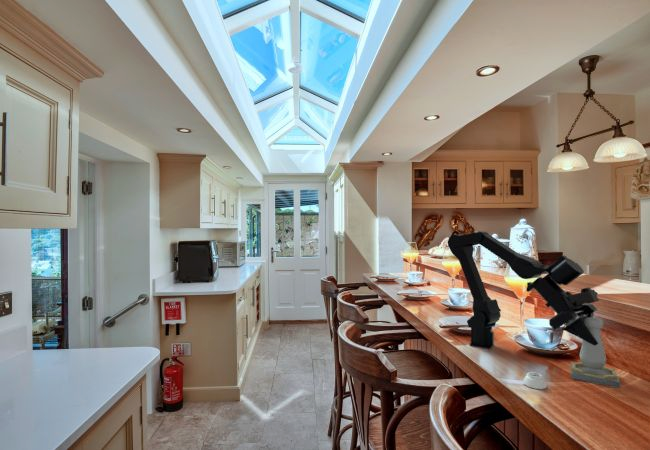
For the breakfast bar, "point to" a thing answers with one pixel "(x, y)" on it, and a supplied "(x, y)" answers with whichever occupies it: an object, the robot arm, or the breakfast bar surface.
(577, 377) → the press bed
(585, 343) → the salt shaker
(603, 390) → the breakfast bar surface
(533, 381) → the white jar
